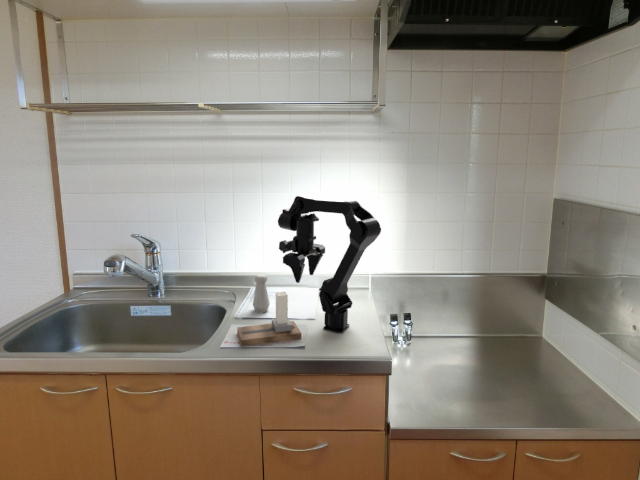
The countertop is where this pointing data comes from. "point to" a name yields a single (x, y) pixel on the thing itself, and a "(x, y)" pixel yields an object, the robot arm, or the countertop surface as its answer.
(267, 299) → the salt shaker
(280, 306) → the fader tab
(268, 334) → the brown slider track board
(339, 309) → the robot arm
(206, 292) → the countertop surface
